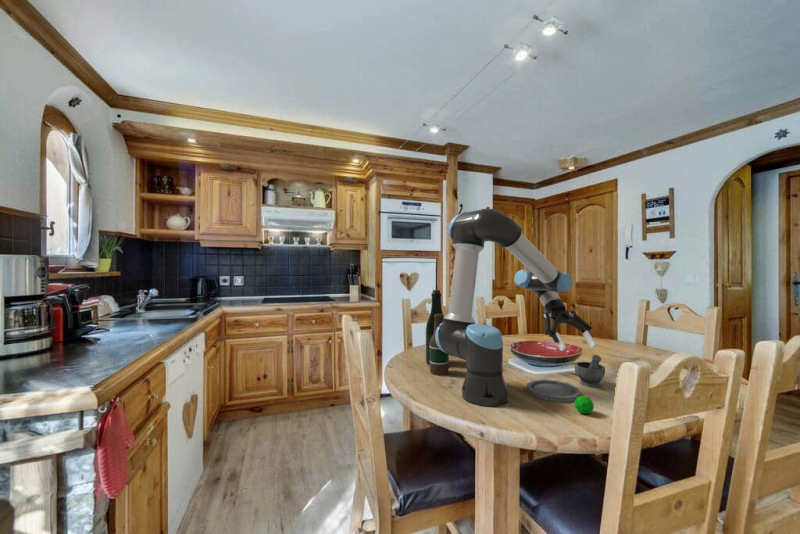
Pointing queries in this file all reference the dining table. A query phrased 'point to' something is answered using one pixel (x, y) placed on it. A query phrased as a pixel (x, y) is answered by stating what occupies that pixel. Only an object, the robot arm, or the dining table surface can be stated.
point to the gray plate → (553, 390)
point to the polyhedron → (584, 404)
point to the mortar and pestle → (590, 372)
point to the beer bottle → (438, 352)
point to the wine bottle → (432, 320)
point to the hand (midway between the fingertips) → (579, 348)
